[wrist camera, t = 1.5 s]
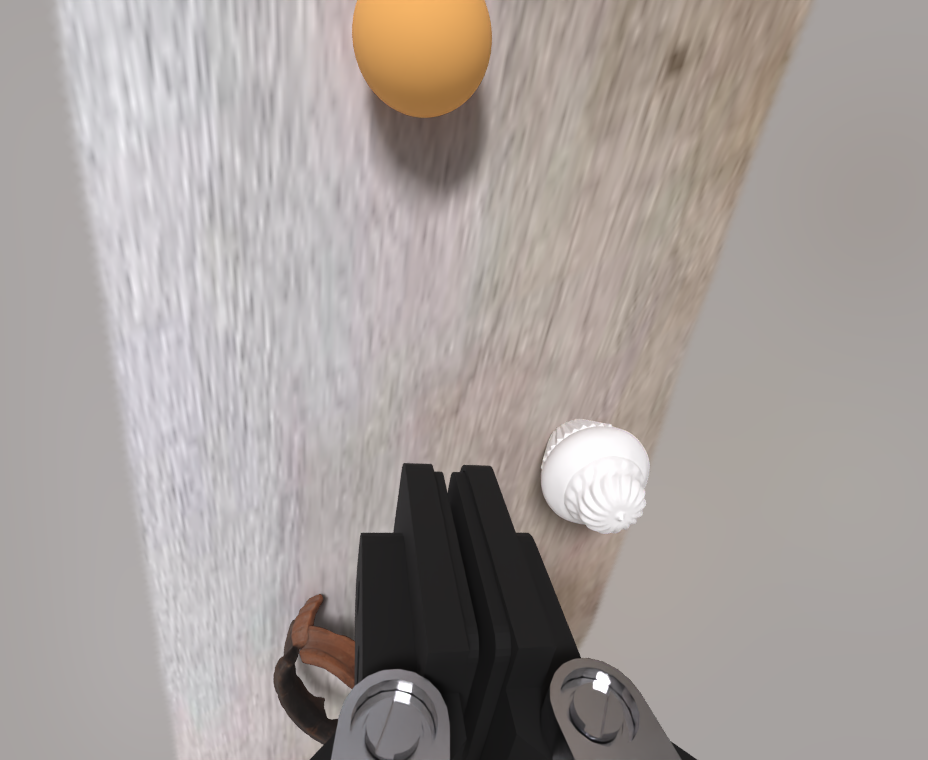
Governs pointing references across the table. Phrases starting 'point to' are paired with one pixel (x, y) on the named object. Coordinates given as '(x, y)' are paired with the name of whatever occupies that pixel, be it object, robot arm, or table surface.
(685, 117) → the table surface
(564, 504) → the muffin
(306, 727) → the broken clay pot
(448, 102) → the ball
